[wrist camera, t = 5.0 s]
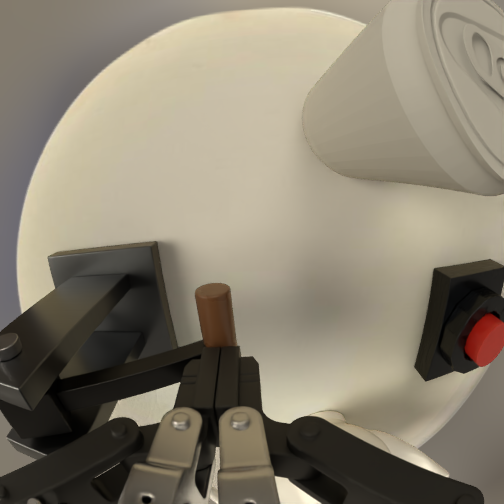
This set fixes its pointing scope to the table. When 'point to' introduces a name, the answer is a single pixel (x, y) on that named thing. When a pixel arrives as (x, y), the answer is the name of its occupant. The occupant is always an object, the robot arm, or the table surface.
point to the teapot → (296, 500)
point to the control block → (457, 315)
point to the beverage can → (417, 98)
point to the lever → (126, 372)
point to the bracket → (85, 331)
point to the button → (485, 340)
